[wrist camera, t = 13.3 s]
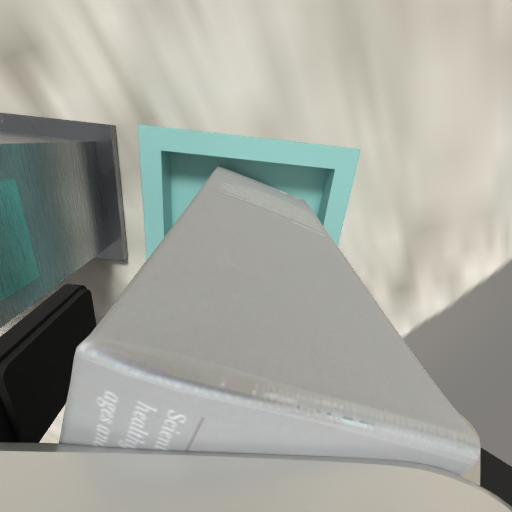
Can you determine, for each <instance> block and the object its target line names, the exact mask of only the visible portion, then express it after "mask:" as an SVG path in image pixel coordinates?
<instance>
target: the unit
mask: <svg viewBox="0 0 512 512" xmlns="http://www.w3.org/2000/svg"><path fill="white" fill-rule="evenodd" d="M127 257H128V255H127V245H126V235H125V224H124V214H123V203H122V193H121V182H120V172H119V161H118V151H117V140H116V130H115V125H106V124H97V123H88V122H79V121H70V120H61V119H52V118H43V117H34V116H25V115H16V114H7V113H0V328H1V327H2V326H4V325H5V324H6V323H8V322H9V321H10V320H12V319H13V318H14V317H16V316H17V315H18V314H20V313H21V312H22V311H24V310H25V309H26V308H28V307H29V306H30V305H32V304H33V303H34V302H36V301H37V300H38V299H40V298H41V297H42V296H44V295H45V294H46V293H48V292H49V291H50V290H52V289H53V288H54V287H56V286H57V285H58V284H60V283H61V282H62V281H64V280H65V279H66V278H68V277H69V276H70V275H72V274H73V273H74V272H76V271H77V270H78V269H80V268H81V267H82V266H84V265H85V264H86V263H88V262H89V261H90V260H92V259H93V258H100V259H112V260H123V261H124V260H125V259H126V258H127Z"/></svg>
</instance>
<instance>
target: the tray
mask: <svg viewBox="0 0 512 512" xmlns="http://www.w3.org/2000/svg"><path fill="white" fill-rule="evenodd" d="M138 136H139V151H140V166H141V181H142V197H143V212H144V227H145V243H146V258H147V259H148V258H149V257H150V255H151V254H152V253H153V251H154V250H155V249H156V247H157V246H158V245H159V244H160V242H161V241H162V240H163V238H164V237H165V236H166V234H167V233H168V232H169V230H170V229H171V228H172V226H173V225H174V224H175V222H176V221H177V220H178V218H179V217H180V216H181V214H182V213H183V212H184V211H185V209H186V208H187V207H188V205H189V204H190V203H191V201H192V200H193V198H194V197H195V196H196V194H197V193H198V192H199V190H200V189H201V188H202V186H203V185H204V184H205V182H206V181H207V180H208V178H209V177H210V176H211V174H212V173H213V172H214V170H215V169H216V167H217V166H222V167H224V168H227V169H229V170H232V171H234V172H237V173H239V174H242V175H244V176H247V177H249V178H251V179H254V180H256V181H259V182H261V183H263V184H266V185H268V186H271V187H273V188H276V189H278V190H281V191H283V192H286V193H288V194H291V195H293V196H295V197H298V198H300V199H303V200H305V201H306V202H307V204H308V205H309V207H310V208H311V209H312V211H313V212H314V214H315V215H316V216H317V218H318V219H319V221H320V222H321V224H322V225H323V226H324V228H325V229H326V231H327V232H328V234H329V235H330V237H331V238H332V239H333V241H334V242H335V244H336V245H337V246H338V242H339V238H340V234H341V230H342V225H343V221H344V217H345V213H346V209H347V204H348V200H349V196H350V192H351V188H352V183H353V179H354V175H355V171H356V167H357V162H358V158H359V154H360V150H361V149H354V148H345V147H336V146H327V145H318V144H309V143H300V142H291V141H282V140H273V139H264V138H255V137H246V136H237V135H228V134H219V133H210V132H201V131H192V130H183V129H174V128H165V127H156V126H147V125H138Z"/></svg>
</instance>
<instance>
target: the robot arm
mask: <svg viewBox="0 0 512 512" xmlns="http://www.w3.org/2000/svg"><path fill="white" fill-rule="evenodd" d="M95 327H96V320H95V314H94V308H93V301H92V295H91V292H90V290H87V289H86V287H85V286H83V285H71V284H66V285H64V286H63V287H61V288H60V289H59V290H58V291H57V292H55V293H54V294H53V295H52V296H50V297H49V298H48V299H47V300H45V301H44V302H43V303H42V304H40V305H39V306H38V307H37V308H36V309H34V310H33V311H32V312H31V313H29V314H28V315H27V316H26V317H24V318H23V319H22V320H21V321H19V322H18V323H17V324H16V325H15V326H13V327H12V328H11V329H10V330H8V331H7V332H6V333H5V334H3V335H2V336H1V337H0V512H512V467H511V466H509V465H507V464H506V463H505V462H503V461H502V460H500V459H498V458H497V457H495V456H493V455H492V454H490V453H489V452H487V451H486V450H484V449H482V448H481V444H480V440H479V445H480V456H479V460H478V461H477V462H476V463H475V464H474V465H473V466H472V467H471V468H469V469H468V470H467V471H465V472H464V473H463V474H461V475H460V476H458V475H456V474H453V473H451V472H448V471H446V470H443V469H439V468H436V467H433V466H429V465H425V464H420V463H413V462H407V461H399V460H386V459H371V458H353V457H326V456H300V455H275V454H248V453H219V452H193V451H170V450H148V449H131V448H116V447H100V446H86V445H73V444H58V443H39V442H40V440H41V439H42V437H43V436H44V434H45V433H46V431H47V430H48V428H49V427H50V425H51V424H52V423H53V421H54V420H55V418H56V417H57V415H58V414H59V412H60V411H61V409H62V408H63V406H64V405H65V403H66V401H67V396H68V391H69V386H70V381H71V374H72V368H73V361H74V356H75V352H76V348H77V346H78V345H79V344H80V343H81V342H82V341H84V340H85V339H86V338H87V337H88V336H89V335H90V334H91V332H92V331H93V330H94V329H95ZM459 415H460V414H459ZM460 416H461V417H462V418H463V420H464V421H465V422H466V423H467V425H468V426H469V427H470V428H471V429H472V431H473V432H474V433H475V435H476V436H477V438H478V439H479V436H478V434H477V433H476V431H475V429H474V428H473V427H472V425H471V424H470V423H469V422H468V421H467V420H466V419H465V418H464V417H463V416H462V415H460Z"/></svg>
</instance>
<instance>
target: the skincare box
mask: <svg viewBox="0 0 512 512" xmlns="http://www.w3.org/2000/svg"><path fill="white" fill-rule="evenodd" d="M59 444H73V445H86V446H100V447H116V448H131V449H148V450H170V451H193V452H219V453H248V454H275V455H300V456H326V457H353V458H371V459H386V460H399V461H407V462H413V463H420V464H425V465H429V466H433V467H436V468H439V469H443V470H446V471H448V472H451V473H453V474H456V475H458V476H460V475H461V474H463V473H464V472H465V471H467V470H468V469H469V468H471V467H472V466H473V465H474V464H475V463H476V462H477V461H478V460H479V456H480V445H479V439H478V438H477V436H476V435H475V433H474V432H473V431H472V429H471V428H470V427H469V426H468V425H467V423H466V422H465V421H464V420H463V418H462V417H461V416H460V415H459V413H458V412H457V411H456V410H455V409H454V407H453V406H452V405H451V404H450V403H449V401H448V400H447V399H446V398H445V396H444V395H443V394H442V392H441V391H440V390H439V388H438V387H437V386H436V384H435V383H434V382H433V381H432V379H431V378H430V376H429V375H428V374H427V372H426V371H425V370H424V368H423V367H422V366H421V364H420V363H419V361H418V360H417V359H416V357H415V356H414V355H413V353H412V352H411V350H410V349H409V348H408V346H407V345H406V343H405V342H404V340H403V339H402V338H401V336H400V335H399V333H398V332H397V331H396V329H395V328H394V326H393V325H392V324H391V322H390V321H389V319H388V318H387V317H386V315H385V314H384V312H383V311H382V310H381V308H380V307H379V305H378V304H377V302H376V301H375V299H374V298H373V297H372V295H371V294H370V292H369V291H368V290H367V288H366V287H365V285H364V284H363V282H362V281H361V280H360V278H359V277H358V275H357V274H356V272H355V271H354V270H353V268H352V267H351V265H350V264H349V262H348V261H347V259H346V258H345V256H344V255H343V254H342V252H341V251H340V249H339V248H338V247H337V245H336V244H335V242H334V241H333V239H332V238H331V237H330V235H329V234H328V232H327V231H326V229H325V228H324V226H323V225H322V224H321V222H320V221H319V219H318V218H317V216H316V215H315V214H314V212H313V211H312V209H311V208H310V207H309V205H308V204H307V202H306V201H305V200H303V199H300V198H298V197H295V196H293V195H291V194H288V193H286V192H283V191H281V190H278V189H276V188H273V187H271V186H268V185H266V184H263V183H261V182H259V181H256V180H254V179H251V178H249V177H247V176H244V175H242V174H239V173H237V172H234V171H232V170H229V169H227V168H224V167H222V166H217V167H216V169H215V170H214V172H213V173H212V174H211V176H210V177H209V178H208V180H207V181H206V182H205V184H204V185H203V186H202V188H201V189H200V190H199V192H198V193H197V194H196V196H195V197H194V198H193V200H192V201H191V203H190V204H189V205H188V207H187V208H186V209H185V211H184V212H183V213H182V214H181V216H180V217H179V218H178V220H177V221H176V222H175V224H174V225H173V226H172V228H171V229H170V230H169V232H168V233H167V234H166V236H165V237H164V238H163V240H162V241H161V242H160V244H159V245H158V246H157V247H156V249H155V250H154V251H153V253H152V254H151V255H150V257H149V258H148V259H147V261H146V262H145V263H144V265H143V266H142V267H141V269H140V270H139V271H138V273H137V274H136V275H135V276H134V278H133V279H132V280H131V282H130V283H129V284H128V286H127V287H126V288H125V290H124V291H123V292H122V294H121V295H120V296H119V297H118V299H117V300H116V301H115V303H114V304H113V305H112V307H111V308H110V309H109V310H108V312H107V313H106V314H105V316H104V317H103V318H102V319H101V321H100V322H99V323H98V325H97V326H96V327H95V329H94V330H93V331H92V332H91V334H90V335H89V336H88V337H87V338H86V339H85V340H84V341H82V342H81V343H80V344H79V345H78V346H77V348H76V352H75V356H74V361H73V368H72V374H71V381H70V386H69V391H68V396H67V401H66V406H65V412H64V417H63V423H62V429H61V434H60V440H59Z"/></svg>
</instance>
